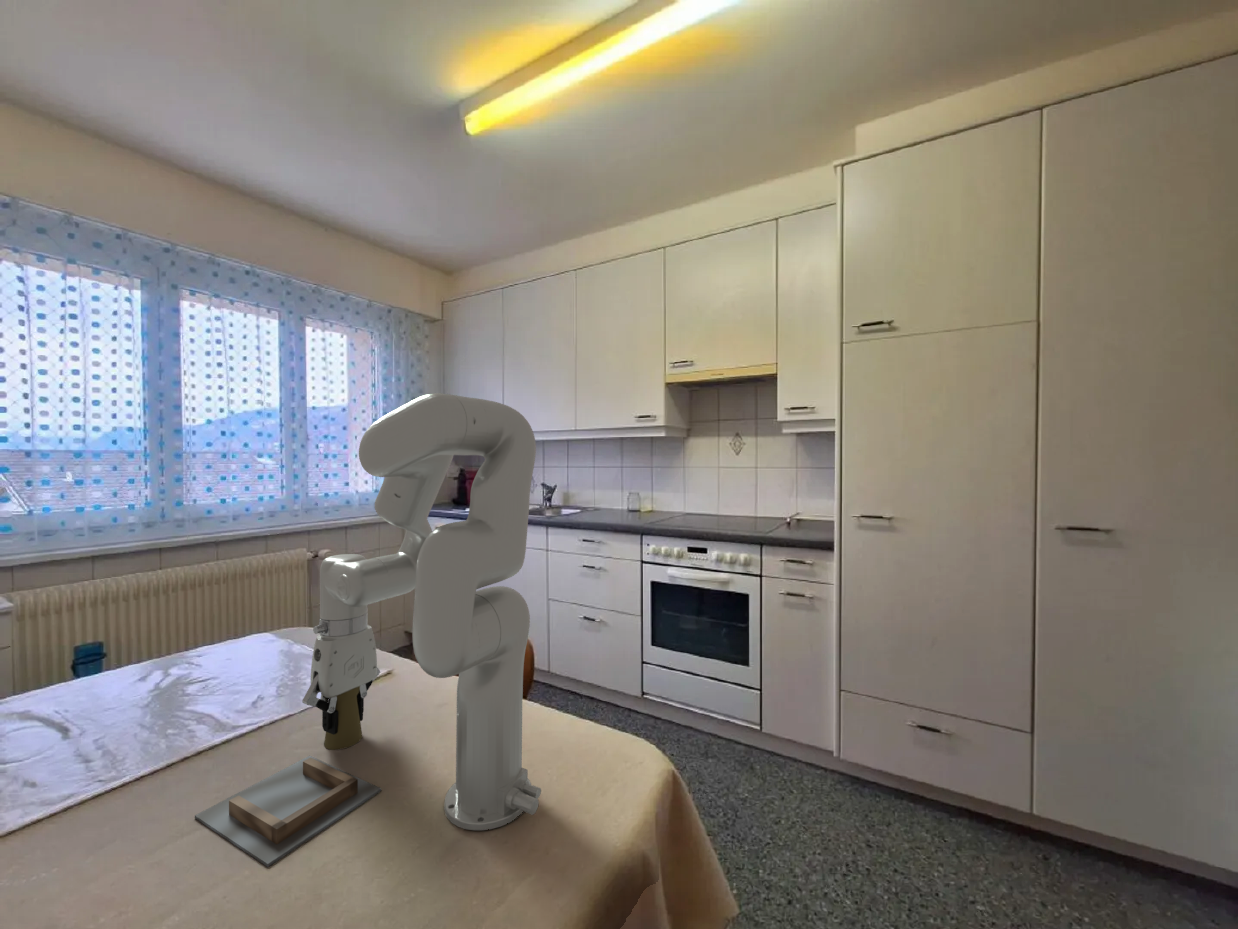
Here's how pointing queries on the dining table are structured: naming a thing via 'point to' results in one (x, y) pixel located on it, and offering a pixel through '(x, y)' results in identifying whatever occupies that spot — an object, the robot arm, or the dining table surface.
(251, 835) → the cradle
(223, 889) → the dining table surface
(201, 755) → the dining table surface
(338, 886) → the dining table surface
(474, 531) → the robot arm
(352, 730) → the cork
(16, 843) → the dining table surface
